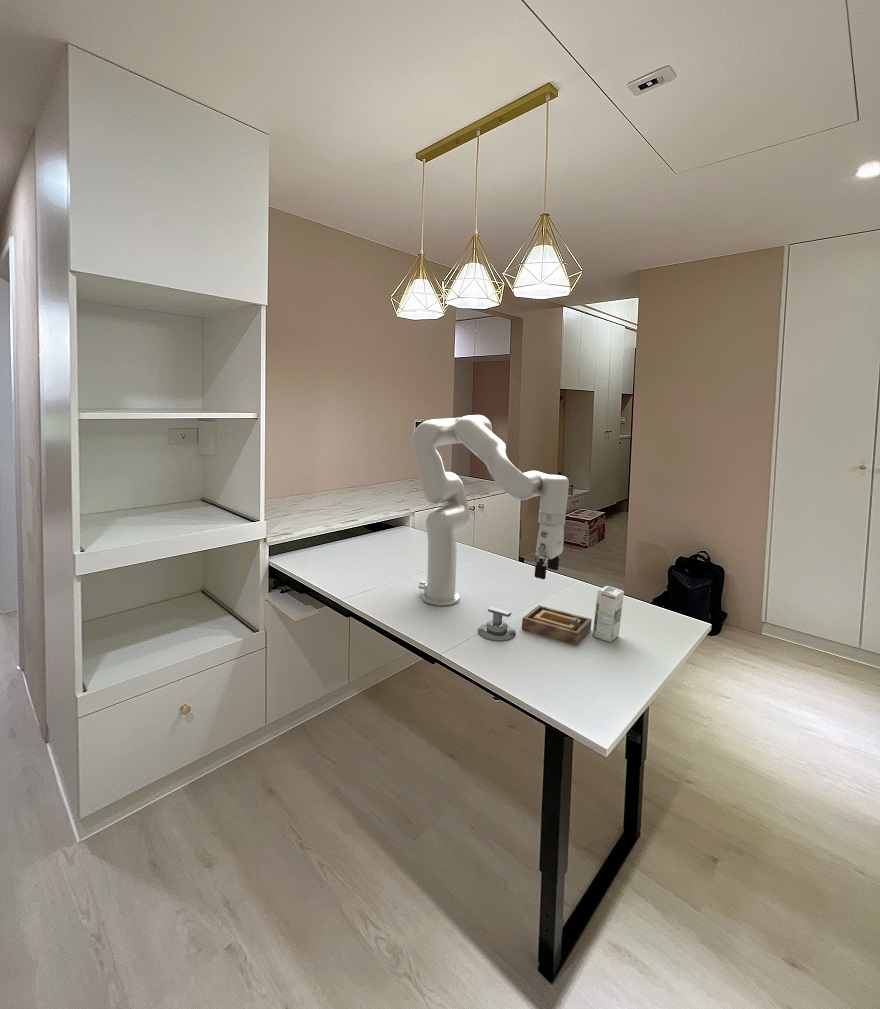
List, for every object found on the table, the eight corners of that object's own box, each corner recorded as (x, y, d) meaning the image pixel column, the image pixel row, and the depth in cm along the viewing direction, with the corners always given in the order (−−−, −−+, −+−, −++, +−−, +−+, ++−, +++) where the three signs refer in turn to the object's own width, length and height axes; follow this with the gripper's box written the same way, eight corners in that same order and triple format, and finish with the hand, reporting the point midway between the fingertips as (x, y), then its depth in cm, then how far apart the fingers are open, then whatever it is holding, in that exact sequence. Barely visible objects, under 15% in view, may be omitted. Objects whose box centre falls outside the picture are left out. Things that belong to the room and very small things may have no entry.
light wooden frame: (571, 637, 153) (572, 623, 153) (532, 626, 160) (533, 612, 159) (579, 629, 159) (581, 615, 158) (542, 618, 166) (543, 605, 165)
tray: (521, 629, 159) (522, 617, 159) (537, 615, 169) (538, 605, 169) (576, 645, 150) (578, 633, 150) (590, 630, 160) (591, 619, 159)
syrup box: (600, 630, 160) (604, 584, 157) (619, 636, 157) (624, 590, 154) (592, 636, 156) (596, 590, 153) (611, 643, 152) (616, 595, 149)
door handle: (471, 634, 155) (472, 611, 154) (489, 621, 164) (490, 599, 163) (505, 644, 149) (506, 621, 148) (521, 630, 158) (523, 608, 157)
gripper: (552, 526, 146) (546, 585, 150) (574, 514, 160) (568, 568, 164) (527, 521, 150) (522, 578, 154) (551, 510, 164) (545, 563, 168)
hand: (546, 573), depth 159 cm, fingers open, 9 cm apart
